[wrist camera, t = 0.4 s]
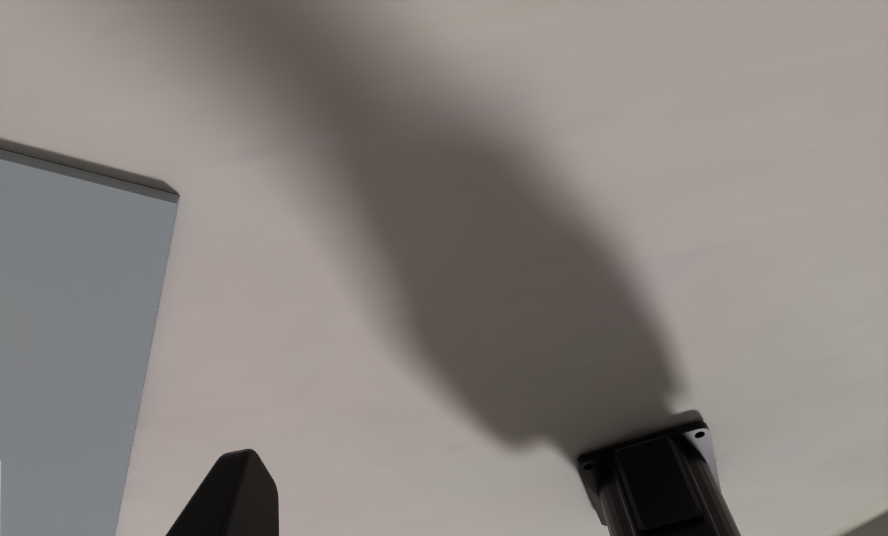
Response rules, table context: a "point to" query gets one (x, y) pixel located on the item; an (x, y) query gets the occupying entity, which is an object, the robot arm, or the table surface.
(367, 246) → the table surface
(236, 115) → the table surface
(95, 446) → the rubber mat
